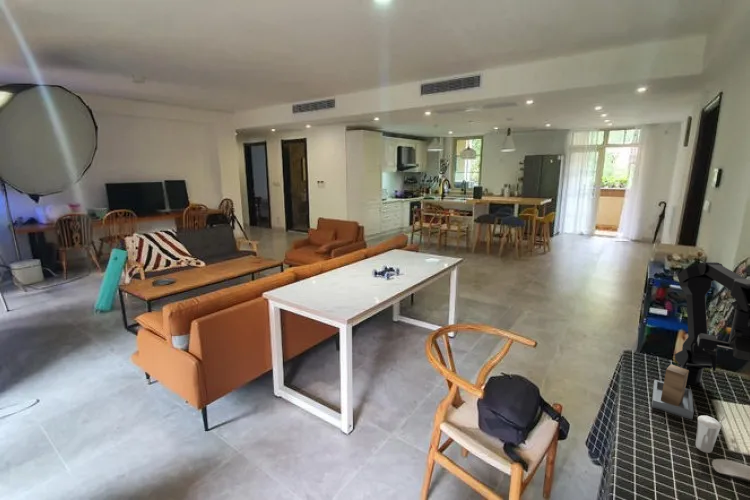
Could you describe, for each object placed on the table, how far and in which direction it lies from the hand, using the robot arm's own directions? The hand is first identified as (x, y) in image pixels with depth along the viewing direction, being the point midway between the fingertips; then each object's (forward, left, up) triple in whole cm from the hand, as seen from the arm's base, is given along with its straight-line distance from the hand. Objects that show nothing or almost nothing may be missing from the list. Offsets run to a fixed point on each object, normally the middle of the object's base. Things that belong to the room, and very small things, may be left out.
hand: (735, 375), depth 107 cm
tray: (+2, -13, -13) cm, 19 cm away
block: (+3, -13, -12) cm, 18 cm away
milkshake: (+22, -6, -13) cm, 26 cm away
